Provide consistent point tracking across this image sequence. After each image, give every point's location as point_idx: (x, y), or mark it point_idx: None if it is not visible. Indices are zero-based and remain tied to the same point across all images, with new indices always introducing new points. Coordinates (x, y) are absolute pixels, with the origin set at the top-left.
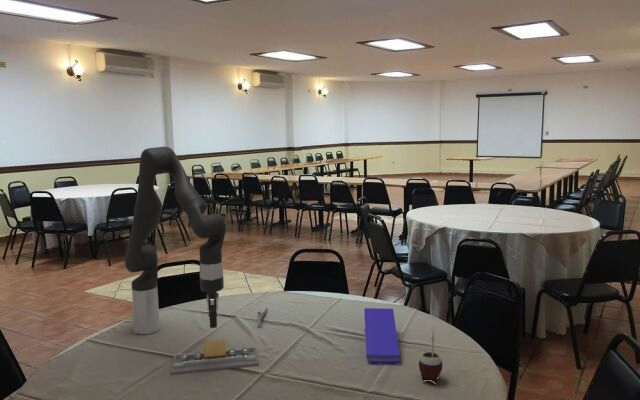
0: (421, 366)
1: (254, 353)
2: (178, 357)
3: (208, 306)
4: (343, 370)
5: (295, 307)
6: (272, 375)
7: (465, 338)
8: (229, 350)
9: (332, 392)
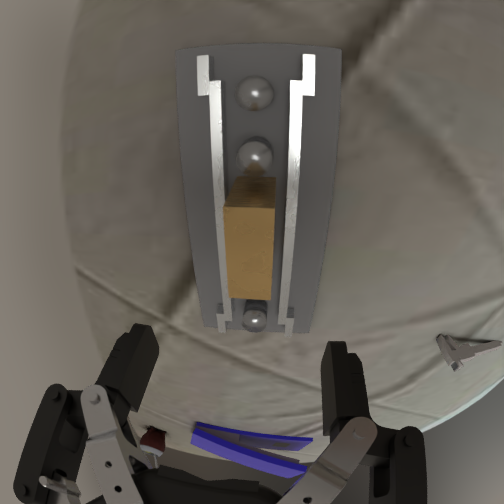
0: (145, 441)
1: (270, 326)
2: (301, 66)
3: (95, 463)
4: (177, 403)
5: (465, 381)
6: (154, 333)
7: None
8: None
9: None
